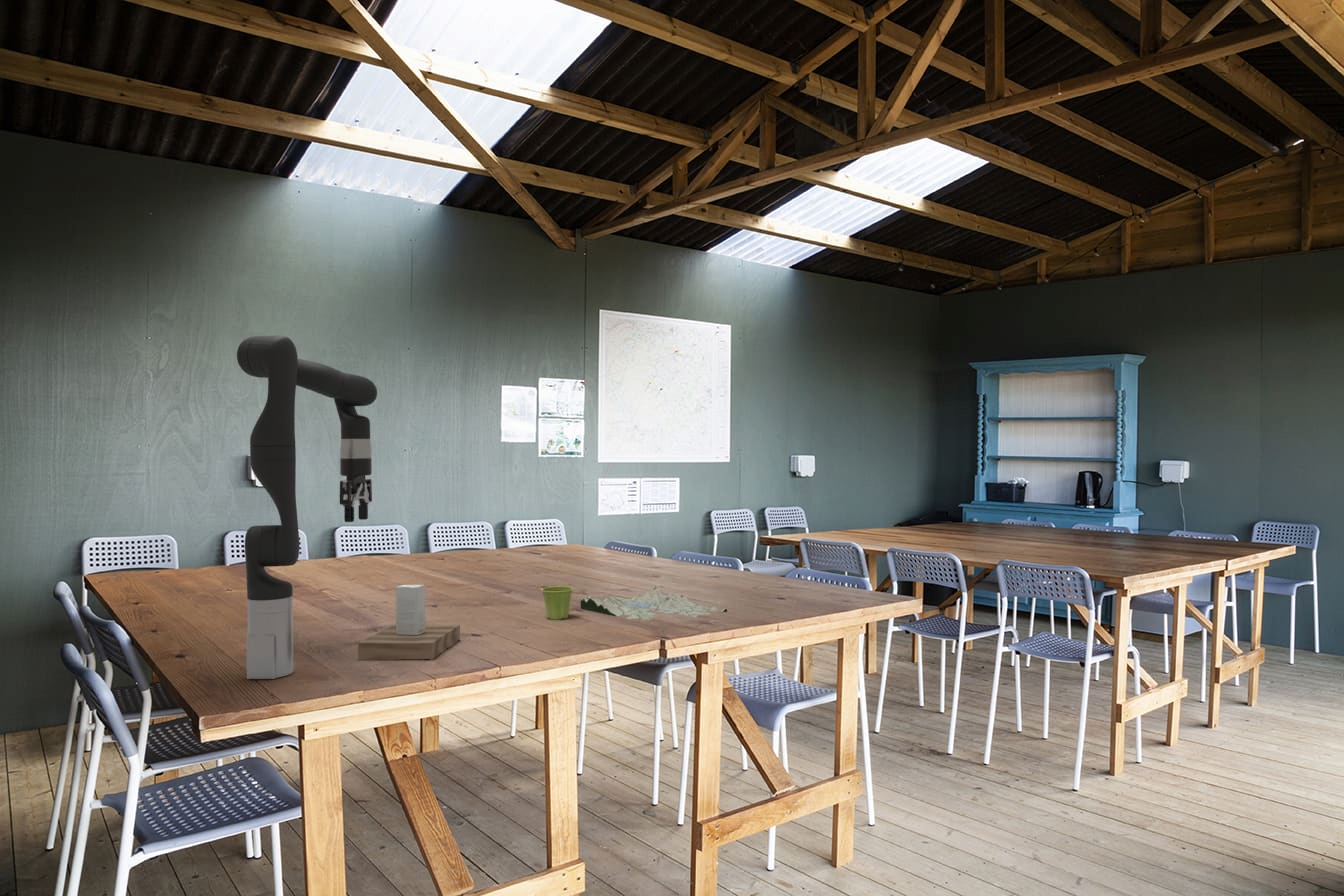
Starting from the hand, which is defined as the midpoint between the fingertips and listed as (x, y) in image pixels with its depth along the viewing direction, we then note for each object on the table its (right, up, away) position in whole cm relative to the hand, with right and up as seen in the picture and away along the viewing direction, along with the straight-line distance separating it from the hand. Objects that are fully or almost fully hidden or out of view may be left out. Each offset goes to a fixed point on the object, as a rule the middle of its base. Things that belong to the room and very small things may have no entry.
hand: (356, 520), depth 224 cm
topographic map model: (+74, -32, +48) cm, 94 cm away
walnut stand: (+15, -32, -4) cm, 36 cm away
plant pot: (+46, -32, +36) cm, 67 cm away
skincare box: (+15, -28, -4) cm, 32 cm away
